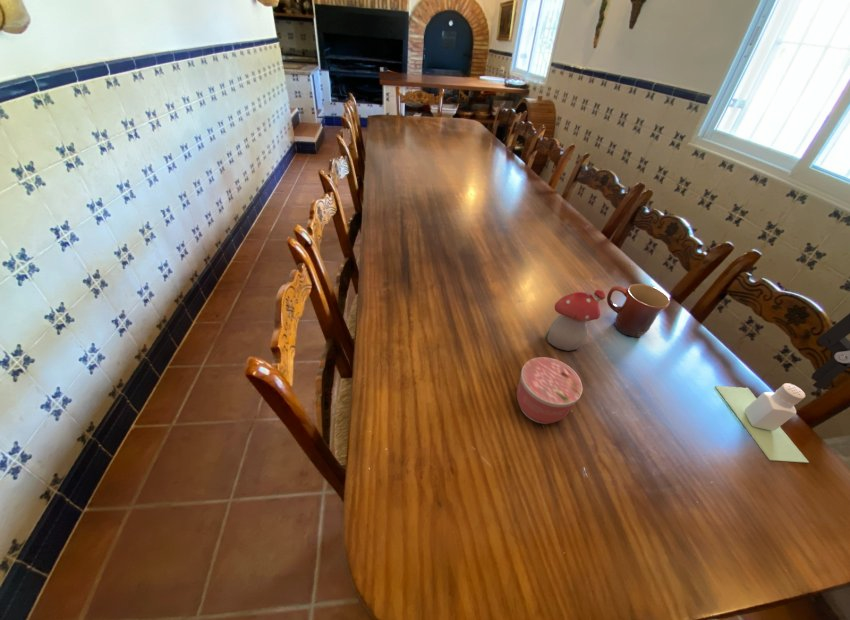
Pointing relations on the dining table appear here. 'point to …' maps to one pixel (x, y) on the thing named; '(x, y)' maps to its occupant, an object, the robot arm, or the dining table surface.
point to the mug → (638, 308)
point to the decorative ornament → (574, 319)
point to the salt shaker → (774, 407)
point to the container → (547, 390)
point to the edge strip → (770, 442)
